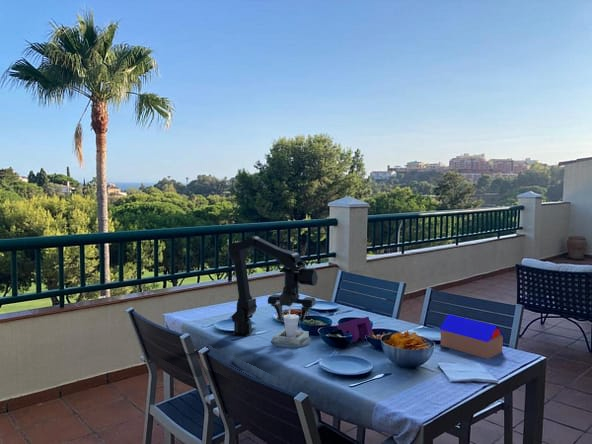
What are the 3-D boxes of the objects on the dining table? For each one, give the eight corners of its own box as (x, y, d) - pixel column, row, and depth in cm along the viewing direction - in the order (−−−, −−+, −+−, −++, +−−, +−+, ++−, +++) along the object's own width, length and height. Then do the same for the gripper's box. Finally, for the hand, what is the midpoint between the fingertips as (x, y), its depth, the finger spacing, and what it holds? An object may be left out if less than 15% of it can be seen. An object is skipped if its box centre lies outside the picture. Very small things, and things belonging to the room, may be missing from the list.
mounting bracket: (331, 348, 195) (356, 341, 181) (326, 328, 198) (350, 320, 183) (348, 344, 200) (374, 337, 186) (343, 325, 203) (368, 316, 188)
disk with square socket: (265, 345, 181) (265, 337, 181) (280, 333, 196) (280, 326, 196) (304, 350, 176) (304, 342, 176) (316, 337, 191) (316, 330, 191)
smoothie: (282, 337, 189) (282, 304, 188) (298, 336, 190) (298, 303, 189) (283, 342, 183) (283, 308, 182) (299, 342, 183) (299, 307, 182)
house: (455, 339, 190) (456, 311, 189) (503, 352, 174) (504, 322, 173) (439, 345, 182) (440, 316, 181) (487, 360, 167) (489, 328, 166)
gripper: (262, 285, 180) (262, 324, 181) (307, 289, 174) (307, 329, 175) (272, 280, 191) (273, 317, 192) (316, 283, 184) (315, 321, 185)
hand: (291, 321), depth 186 cm, fingers open, 9 cm apart
